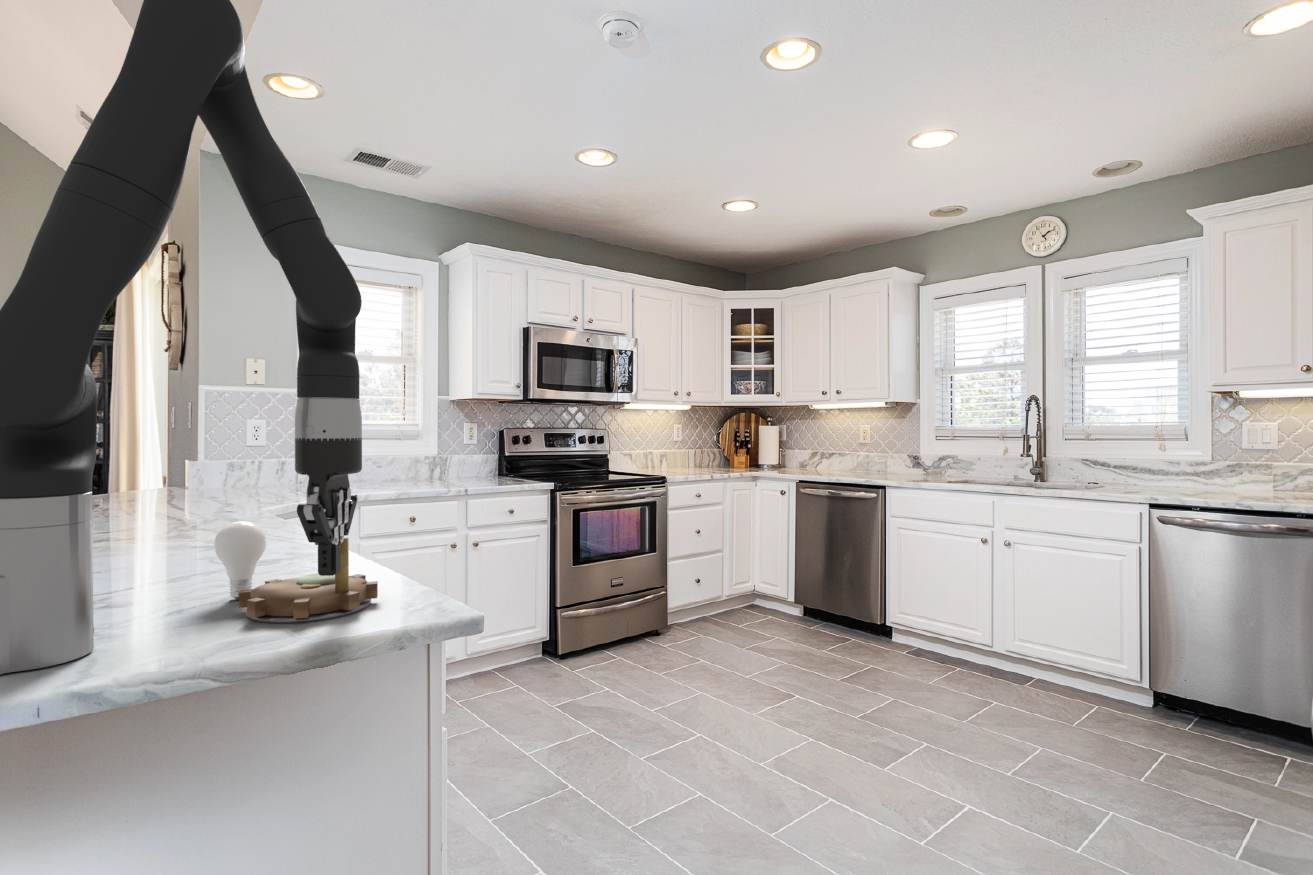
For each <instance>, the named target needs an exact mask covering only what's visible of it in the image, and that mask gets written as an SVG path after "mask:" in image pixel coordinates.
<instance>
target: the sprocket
mask: <svg viewBox="0 0 1313 875" xmlns="http://www.w3.org/2000/svg"><path fill="white" fill-rule="evenodd" d="M349 542H350V541H349V537H346V536H344V540H343V542H342V543H340V544H341V570H340V572H339V573H337V574H335V575H333V576H321V575H319V574H318V572H317V573H310V574H306V575H301V576H299V577H293V578H287V579H279V578H278V579H275V578H274V579H270V580H266V581H264V584H261V585H259V586H256V587H254V588H252V589H247V590H241V591H240V592H239V600H238V608H239V609H242V608H244V609H245V608H246V610H247V616H249V617H254V618H256V617H260V616H264V615H270V616H293V619H296V618H308V617H309V615H311V614H319V613H326V612H332V611H337V610H341V609H343V610H348V611H350V610H353V609H357V608H359V604H360V603H362V602H363V601H365V600H366V599H371V600H373V599H378V592H379V591H378V590H379V589H378V587H379V586H378V585H379V584H378V581H377V580H376V581H367V580H366V579H367V578H366V574H358V573H357V574H353V575H349V566H350V565H349V561H350V560H349V558H350V557H349V553H350V552H349V548H350V547H349V545H350V544H349Z"/></svg>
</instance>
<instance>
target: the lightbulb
mask: <svg viewBox="0 0 1313 875" xmlns="http://www.w3.org/2000/svg"><path fill="white" fill-rule="evenodd" d="M267 540H268V539H267V535H266V533H265V532H264V530H263V528H261V526H259V525H258V524H256V523H255V522H251V521H249V520H248V521H246V520H237V521H233V522H230V523H228V524H226V525H225V526H223V527H222V528H221V529H220V530H219V531H218V532H217V534H216V536H215V538H214V541H213V549H214V553H215V555H216V557H217V559H218V560H219V561H220V562H221V564H223V566H224V569H225V571H226V575H227V577H228V579H229V588H230V589H229V591H230V592H229V596H230V597H231V598H233V599H236V600H238V601H239V592H240V591H241V590H247V589H253V588H252V587H253V585H252V584H253V582H252V581H253V575H254V574H255V571H256V567H257V564H258V563H259V561H260V559H261V558H262V557H263V555H264V553H265V551H266V549H267V544H268V541H267Z"/></svg>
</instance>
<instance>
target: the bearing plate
mask: <svg viewBox="0 0 1313 875" xmlns="http://www.w3.org/2000/svg"><path fill="white" fill-rule="evenodd" d="M371 604H372V599H366V600H365V601H363V602H362V603H360V604H359V608H357V609H353V610H350V611H348V610H343V609H341V610H337V611H332V612H326V613H319V614H311V615H309V617H308V618H296V619H293V616H270V615H264V616H260V617H256V618H254V617H249V616H247V609H246V610H245V616H246V618H247V619H249V620H250V621H253V622H257V623H265V624H277V625H278V624H284V625H285V624H286V625H287V624H301V623H302V624H304V623H312V622H313V623H315V622H320V621H327V620H332V619H338V618H342V617H347V616H349V615H352V614H356V613H358V612H361V611H364V610H365V609H367V608H369V606H371Z"/></svg>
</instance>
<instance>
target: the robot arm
mask: <svg viewBox="0 0 1313 875" xmlns="http://www.w3.org/2000/svg"><path fill="white" fill-rule="evenodd" d="M135 24H136V25H135V28H134V30H133V33H132V36H131V39H130V42H129V45H128V49H127V52H126V54H125V58H124V61H123V63H122V67H121V69H120V71H119V73H118V76H117V77H116V80H115V81H114V83H113V86H112V87H111V89H110V90H109V93H108V94H107V96H106V97H105V98H104V101H103V102H102V104H101V105H100V108H99V109H98V111H97V112H96V115H95V116H94V118H93V120H92V122H91V124H90V125H89V128H88V130H87V132H86V133H85V135H84V138H83V139H82V141H81V144H80V145H79V147H78V148H77V150H76V152H75V154H74V155H73V158H72V159H71V161H70V163H69V165H68V166H67V169H66V170H65V173H64V175H63V177H62V179H61V180H60V184H59V185H58V187H57V190H56V191H55V193H54V196H53V199H52V201H51V203H50V205H49V208H48V211H47V212H46V215H45V216H44V219H43V221H42V223H41V226H40V228H39V230H38V231H37V234H36V236H35V238H34V241H33V244H32V246H31V249H30V252H29V254H28V257H27V259H26V262H25V265H24V267H23V270H22V272H21V274H20V276H19V278H18V280H17V282H16V283H15V286H14V287H13V289H12V291H11V293H10V294H9V296H8V297H7V298H6V300H5V302H4V303H3V305H2V306H1V308H0V675H4V674H8V673H13V672H23V671H30V670H36V669H42V668H48V667H52V666H56V665H59V664H60V665H61V664H64V663H67V662H71V661H74V660H76V659H80V658H81V657H84V656H86V655H88V654H90V653H91V652H92V651H94V648H95V646H94V645H95V644H94V643H95V642H94V640H95V638H94V637H95V636H94V635H95V627H94V626H95V625H94V565H93V564H94V562H93V561H94V560H93V559H94V558H93V557H94V556H93V553H94V551H93V542H94V541H93V476H94V469H95V465H96V461H97V443H98V442H97V440H98V438H97V436H98V432H97V430H98V394H97V393H98V391H97V382H96V379H95V375H94V373H93V371H92V369H91V367H90V366H89V365H88V360H89V357H90V354H91V351H92V348H93V345H94V343H95V340H96V337H97V335H98V332H99V329H100V327H101V324H102V323H103V321H104V319H105V317H106V315H107V313H108V311H109V309H110V307H111V306H112V305H113V304H114V301H116V299H117V298H118V297H119V295H120V294H121V293H122V292H123V290H125V288H126V287H127V285H128V284H129V283H130V282H131V281H132V280H133V279H134V277H135V276H136V275H137V274H138V273H139V271H140V270H141V268H142V267H143V266H144V264H146V262H147V260H149V258H150V257H151V255H152V254H153V252H154V250H155V248H156V247H157V244H158V243H159V241H160V239H161V237H162V235H163V233H164V231H165V228H166V226H167V224H168V221H169V220H170V217H171V215H172V213H173V211H174V209H175V206H176V204H177V200H178V198H179V195H180V192H181V188H182V184H183V179H184V176H185V173H186V168H187V162H188V158H189V154H190V148H191V143H192V139H193V138H192V137H193V134H194V133H193V132H194V128H195V126H196V122H197V119H198V116H199V118H200V120H201V121H202V123H203V125H204V127H205V128H206V129H207V131H208V133H209V135H210V137H211V138H212V140H213V142H214V144H215V146H216V147H217V149H218V151H219V153H220V155H221V157H222V159H223V161H224V163H225V166H226V167H227V169H228V171H229V173H230V176H231V178H232V180H233V182H234V184H235V186H236V189H237V191H238V193H239V196H240V198H241V200H242V201H243V203H244V205H245V208H246V209H247V211H248V214H249V216H250V218H251V219H252V222H253V223H254V226H255V227H256V229H257V231H258V233H259V235H260V237H261V239H262V241H263V243H264V245H265V247H266V249H267V250H268V251H269V253H270V254H271V255H272V257H274V259H276V260H277V261H278V263H279V265H280V267H281V270H282V271H283V273H284V276H285V277H286V280H287V282H288V284H289V285H290V288H291V290H292V292H293V294H294V297H295V316H296V317H295V319H296V321H295V322H296V333H297V344H298V347H297V348H298V359H297V368H296V369H297V370H296V398H297V399H296V408H295V413H294V470H295V472H296V473H297V474H298V475H303V476H304V475H305V476H308V482H307V486H306V487H307V488H306V503H303V504H302V503H301V504H298V505H297V506H296V514H297V516H298V518H299V521H300V523H301V526H302V528H303V531H304V534H305V536H306V538H307V540H308V543H314V545H315V546H317V573H318V574H319V575H321V576H333V575H335V574H337V573H339V572H340V570H341V544H340V543H342V542H343V540H344V537H346V536H349V533H350V529H351V525H352V522H353V519H354V514H355V510H356V506H357V503H358V495H357V494H352V489H351V488H350V486H351V485H350V480H349V475H352V474H353V475H354V474H357V473H360V472H361V471H362V470H363V426H362V425H363V419H362V410H361V403H360V401H361V400H360V366H359V360H358V358H357V356H356V325H357V323H356V322H357V317H358V316H359V314H360V312H361V309H362V295H361V292H360V289H359V286H358V284H357V282H356V280H355V277H354V276H353V274H352V272H351V270H350V269H349V266H348V265H347V263H346V262H345V260H344V259H343V258H342V255H341V254H340V253H339V251H338V250H337V247H335V245H334V244H333V241H331V239H330V237H329V235H328V233H327V230H326V227H325V226H324V223H323V221H322V219H321V217H320V214H319V213H318V210H317V209H316V206H315V204H314V202H313V200H312V198H311V197H310V194H309V192H308V190H307V188H306V186H305V184H304V182H303V181H302V179H301V177H300V175H299V174H298V173H297V170H296V169H295V167H294V166H293V165H292V163H291V161H290V160H289V158H288V157H287V155H286V154H285V152H284V151H283V150H282V148H281V147H280V146H279V144H278V143H277V141H276V140H275V139H276V138H275V137H274V136H273V135H272V133H271V130H270V129H269V127H268V124H266V121H265V120H264V117H263V115H262V113H261V111H260V108H259V105H258V104H257V102H256V98H255V95H254V92H253V89H252V86H251V82H250V78H249V76H248V73H247V70H246V66H245V62H246V61H245V60H246V49H245V46H246V44H245V36H244V35H245V34H244V29H243V25H242V22H241V19H240V17H239V14H238V12H237V9H236V8H235V6H234V4H233V3H232V2H231V0H143V1H142V4H141V8H140V11H139V14H138V17H137V20H136V23H135Z"/></svg>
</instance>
